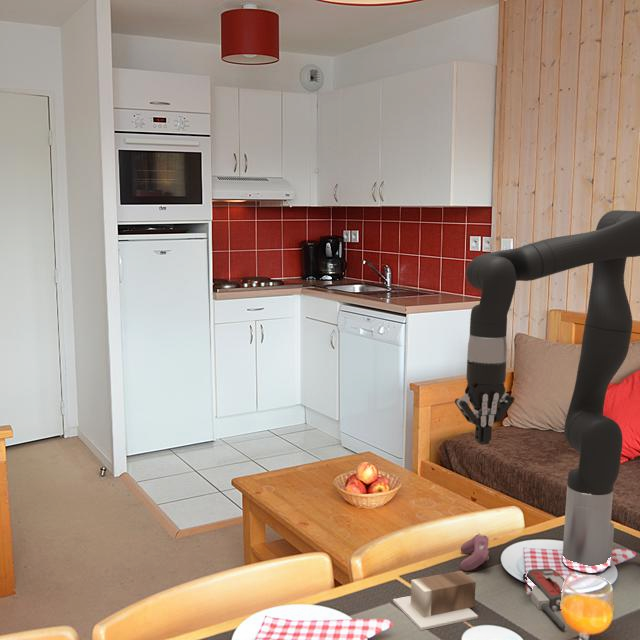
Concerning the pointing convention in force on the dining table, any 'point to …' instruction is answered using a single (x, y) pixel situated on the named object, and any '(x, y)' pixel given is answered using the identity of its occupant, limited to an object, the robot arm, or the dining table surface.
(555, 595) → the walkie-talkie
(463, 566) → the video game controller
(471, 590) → the walnut block
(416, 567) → the dining table surface
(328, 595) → the dining table surface
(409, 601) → the cream square tile
